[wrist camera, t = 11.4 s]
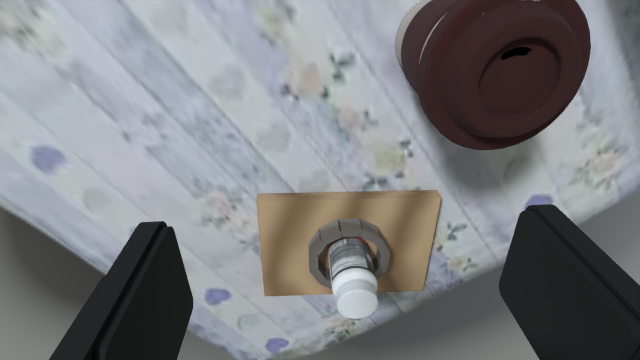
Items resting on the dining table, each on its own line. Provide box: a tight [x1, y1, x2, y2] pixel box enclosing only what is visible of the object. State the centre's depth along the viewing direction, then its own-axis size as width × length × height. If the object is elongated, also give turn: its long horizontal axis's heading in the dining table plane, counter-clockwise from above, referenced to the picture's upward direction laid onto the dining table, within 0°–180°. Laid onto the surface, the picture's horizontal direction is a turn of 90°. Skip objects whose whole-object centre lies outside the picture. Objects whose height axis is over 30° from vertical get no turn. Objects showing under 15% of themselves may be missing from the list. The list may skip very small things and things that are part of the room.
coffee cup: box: [395, 0, 591, 150], centre depth 27 cm, size 10×10×15 cm
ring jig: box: [256, 190, 441, 296], centre depth 43 cm, size 20×14×4 cm
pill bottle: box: [328, 237, 378, 319], centre depth 39 cm, size 5×5×8 cm
